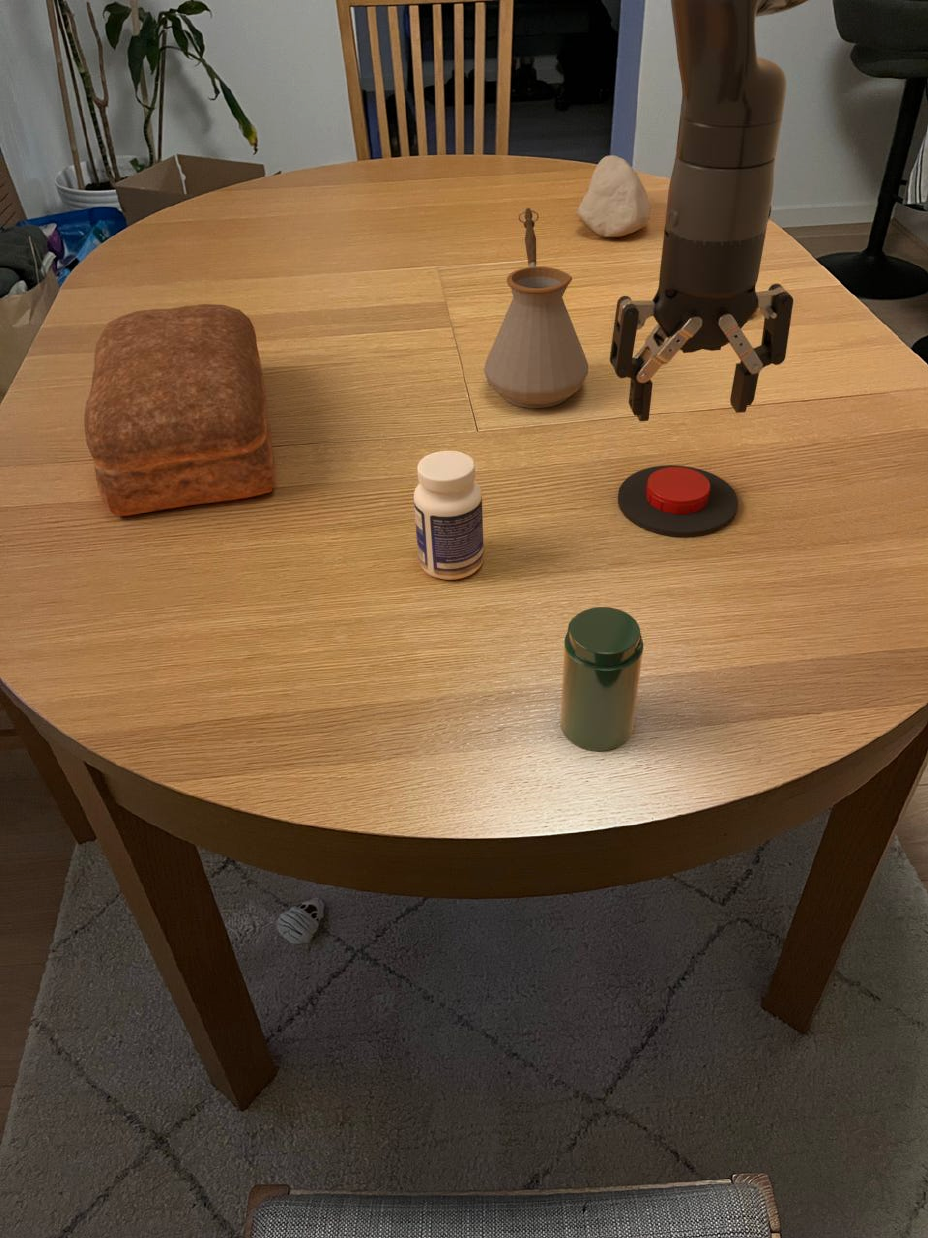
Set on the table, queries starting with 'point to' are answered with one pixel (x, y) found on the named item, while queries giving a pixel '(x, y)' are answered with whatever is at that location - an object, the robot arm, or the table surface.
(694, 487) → the lid
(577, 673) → the jar
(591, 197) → the decorative stone
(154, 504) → the bread
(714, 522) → the coaster
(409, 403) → the table surface
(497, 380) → the coffee pot
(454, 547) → the pill bottle
